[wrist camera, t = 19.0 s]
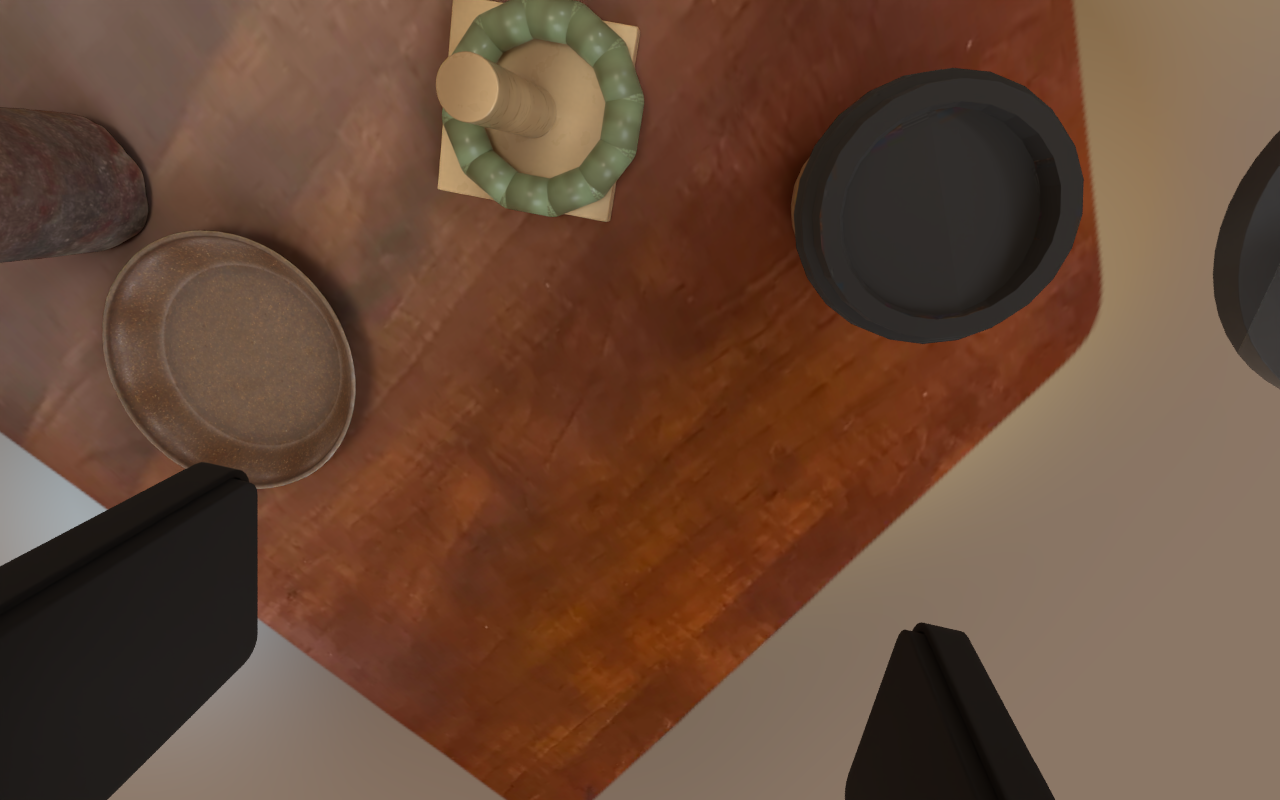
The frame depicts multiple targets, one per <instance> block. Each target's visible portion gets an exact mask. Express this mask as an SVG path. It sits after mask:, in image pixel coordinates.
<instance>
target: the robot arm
mask: <svg viewBox="0 0 1280 800" xmlns="http://www.w3.org/2000/svg"><path fill="white" fill-rule="evenodd" d="M256 641H257V489H256V487H255V485H254V484H252V483H250V482H249V478H248V476H247V474H246V473H245V472H243V471H242V470H238V469H234V468H229V467H225V466H220V465H216V464H211V463H206V462H200V463H197V464H194V465H192V466H190V467H189V468H187V469H185V470H183V471H181V472H179V473H177V474H175V475H173V476H171V477H169V478H168V479H166V480H164V481H162V482H160V483H158V484H156V485H154V486H152V487H150V488H149V489H147V490H145V491H143V492H141V493H139V494H137V495H135V496H133V497H131V498H130V499H128V500H126V501H124V502H122V503H120V504H118V505H116V506H114V507H112V508H110V509H109V510H107V511H105V512H103V513H101V514H99V515H97V516H95V517H94V518H91V519H90V520H88V521H86V522H84V523H82V524H80V525H78V526H76V527H74V528H73V529H70V530H69V531H67V532H65V533H63V534H61V535H59V536H57V537H55V538H54V539H51V540H50V541H48V542H46V543H44V544H42V545H40V546H38V547H37V548H34V549H32V550H31V551H29V552H27V553H25V554H23V555H21V556H19V557H17V558H15V559H14V560H11V561H10V562H8V563H6V564H4V565H2V566H0V800H107V799H108V798H109V797H111V795H112V794H114V793H115V792H116V791H117V790H118V788H120V787H121V786H122V785H123V784H124V783H125V782H126V781H127V780H128V779H129V778H130V777H131V776H132V775H133V773H135V772H136V771H137V770H138V768H140V767H141V766H142V765H143V764H144V763H145V762H146V761H147V759H149V758H150V757H151V756H152V755H153V754H154V753H155V752H156V751H157V750H158V749H159V748H160V747H161V746H162V745H163V744H164V743H165V742H166V741H167V740H168V739H169V738H170V737H171V736H172V735H173V734H174V733H175V732H176V731H177V730H178V729H179V728H180V727H181V726H182V725H183V724H184V723H185V722H186V721H187V720H188V719H189V718H190V717H191V716H192V715H193V714H194V713H195V712H196V711H197V710H198V709H199V708H200V707H201V706H202V705H203V704H204V703H205V702H206V701H207V700H208V699H209V698H210V697H211V696H212V695H213V694H214V693H215V692H216V691H217V690H218V689H219V688H220V687H221V686H222V685H223V684H224V683H225V682H226V681H227V680H228V679H229V678H230V677H231V676H232V675H233V674H234V673H235V672H236V671H237V670H238V669H239V668H240V667H241V666H242V665H243V664H244V663H245V662H246V661H247V660H248V658H249V657H250V655H251V653H252V652H253V650H254V647H255V644H256ZM845 800H1055V798H1054V797H1053V795H1052V793H1051V791H1050V789H1049V787H1048V785H1047V783H1046V781H1045V780H1044V778H1043V776H1042V774H1041V772H1040V770H1039V768H1038V766H1037V765H1036V763H1035V762H1034V760H1033V758H1032V756H1031V754H1030V753H1029V751H1028V749H1027V747H1026V745H1025V743H1024V741H1023V739H1022V738H1021V736H1020V734H1019V732H1018V730H1017V728H1016V726H1015V724H1014V723H1013V721H1012V719H1011V717H1010V715H1009V713H1008V711H1007V709H1006V708H1005V706H1004V704H1003V702H1002V700H1001V698H1000V696H999V695H998V693H997V691H996V689H995V687H994V685H993V683H992V681H991V679H990V678H989V676H988V674H987V672H986V670H985V668H984V666H983V664H982V663H981V661H980V659H979V657H978V655H977V653H976V651H975V649H974V648H973V646H972V644H971V642H970V640H969V638H968V637H967V635H966V634H965V633H964V632H961V631H957V630H953V629H948V628H944V627H940V626H935V625H931V624H926V623H918V624H917V625H916V626H915V627H914V629H913V631H908V630H903V631H901V633H900V634H899V636H898V638H897V641H896V643H895V646H894V649H893V652H892V654H891V657H890V660H889V663H888V666H887V668H886V671H885V674H884V677H883V680H882V683H881V685H880V688H879V691H878V693H877V696H876V699H875V702H874V705H873V707H872V710H871V713H870V716H869V719H868V722H867V724H866V727H865V730H864V733H863V736H862V738H861V741H860V744H859V746H858V749H857V752H856V755H855V758H854V761H853V763H852V766H851V769H850V772H849V774H848V778H847V782H846V788H845Z"/></svg>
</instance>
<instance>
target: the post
mask: <svg viewBox="0 0 1280 800" xmlns="http://www.w3.org/2000/svg"><path fill="white" fill-rule="evenodd" d="M501 4H503V3H500V2H494V1H489V0H453V5H452V18H451V30H450V43H449V55H448V58H447V59H446V60H445V61H444V62H443V63H442V65H441V66H440V68H439V70H438V73H437V77H436V92H437V96H438V99H439V102H440V104H441V105H442V107H443V109H444V110H445V111H446V112H447V113H448V114H449V115H450V116H451V117H453V118H455V119H456V120H459V121H462V122H466V123H470V124H474V125H478V126H482V127H484V128H485V130H486V133H487V135H488V138H489V140H490V143H491V145H492V148H493V150H494V152H496V153H497V154H498V155H499V156H500V157H501V158H503V159H504V160H505V161H506V162H507V163H508V164H509V165H511V166H512V167H513V168H514V169H515V170H516V171H518V172H519V173H524V174H529V175H535V176H540V177H545V178H552V177H554V176H557V175H559V174H562V173H564V172H567V171H569V170H572V169H574V168H577V167H579V166H580V165H581V164H582V163H583V161H584V160H585V159H586V157H587V156H588V155H589V153H590V152H591V151H592V149H593V148H594V147H595V145H596V144H597V143H598V141H599V140H600V137H601V130H602V123H603V116H604V109H605V100H604V97H603V94H602V92H601V89H600V86H599V83H598V80H597V77H596V74H595V71H594V69H593V67H592V66H591V65H589V64H588V63H587V62H586V61H585V60H584V59H583V58H582V57H581V56H579V55H578V54H577V53H576V52H575V51H574V50H573V49H572V48H571V47H569V46H568V45H567V44H562V43H556V42H550V41H545V40H539V39H532V40H530V41H528V42H526V43H523V44H521V45H519V46H517V47H515V48H512V49H510V50H508V51H506V52H503V54H502V55H501V57H500V58H499V60H498V61H497V63H494V62H492V61H490V60H488V59H486V58H484V57H482V56H481V55H479V54H476V53H473V52H468V51H462V52H457V53H455V54H453V55H452V53H453V52H454V50H455V48H456V47H457V45H458V44H459V42H460V41H461V39H462V38H463V36H464V34H465V33H466V31H467V30H468V28H469V27H470V25H471V24H472V22H473V20H474V19H475V18H476V17H477V16H478V15H480V14H482V13H484V12H486V11H488V10H490V9H492V8H494V7H497V6H499V5H501ZM604 22H605V23H606V24H607V25H608V26H609V27H610V28H611V29H612V30H613V31H615V32H616V33H617V34H618V35H619V36H620V37H621V38H622V39H623V40H624V41H625V43H626V44H627V47H628V50H629V53H630V56H631V59H632V62H633V65H634V68H635V63H636V56H637V50H638V44H639V38H640V30H639V29H638V27H636V26H630V25H625V24H619V23H613V22H608V21H604ZM615 187H616V182H615V184H614V185H613V186H612V187H611V189H610V190H609V191H608V193H607V194H606V195H605V196H604V197H603V198H602V199H600V200H599V201H596V202H594V203H591V204H588V205H586V206H583V207H581V208H578V209H575V210H573V211H570V212H568V213H565V214H567V215H573V216H578V217H583V218H588V219H593V220H598V221H603V222H608V221H610V219H611V212H612V206H613V200H614V194H615ZM438 189H439V190H444V191H449V192H454V193H459V194H465V195H470V196H475V197H480V198H485V199H490V200H494V199H493V198H492V197H491V196H489V195H488V194H487V193H486V192H485V191H484V190H482V189H481V188H480V187H479V186H478V185H477V184H475V183H474V182H473V181H472V180H471V179H470V178H468V177H467V176H466V175H465V174H464V172H463V171H462V169H461V167H460V164H459V162H458V159H457V157H456V154H455V152H454V149H453V147H452V145H451V142H450V140H449V137H448V135H447V132H446V130H445V127H444V125H443V130H442V142H441V154H440V167H439V179H438Z"/></svg>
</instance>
